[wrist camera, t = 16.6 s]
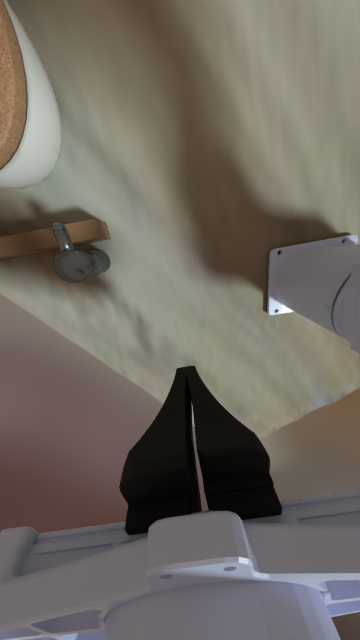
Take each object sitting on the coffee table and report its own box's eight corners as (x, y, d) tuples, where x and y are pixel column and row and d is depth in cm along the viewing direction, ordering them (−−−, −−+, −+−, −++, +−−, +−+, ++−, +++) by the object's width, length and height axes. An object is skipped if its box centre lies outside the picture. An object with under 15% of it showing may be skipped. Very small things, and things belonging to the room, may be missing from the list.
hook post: (99, 226, 18) (66, 217, 12) (113, 270, 20) (89, 279, 14) (77, 230, 18) (34, 224, 13) (92, 273, 20) (62, 284, 14)
